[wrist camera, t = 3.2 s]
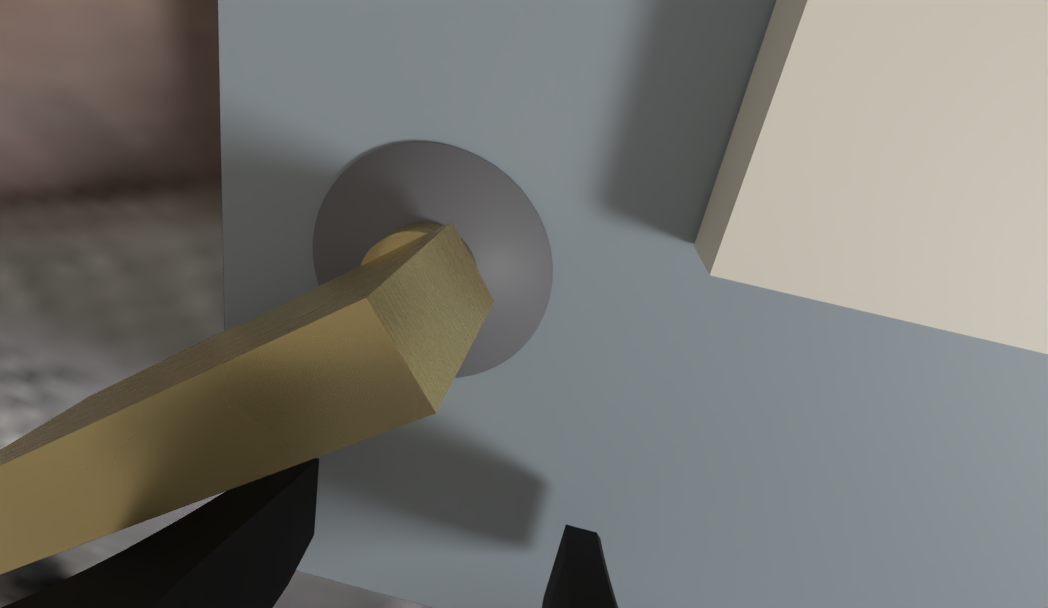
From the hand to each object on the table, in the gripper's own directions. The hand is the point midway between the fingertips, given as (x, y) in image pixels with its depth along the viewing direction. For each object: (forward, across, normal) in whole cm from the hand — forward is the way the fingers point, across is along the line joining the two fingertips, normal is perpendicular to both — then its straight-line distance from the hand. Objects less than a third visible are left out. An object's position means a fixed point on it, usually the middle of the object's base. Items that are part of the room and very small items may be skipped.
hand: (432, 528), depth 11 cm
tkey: (+1, +3, -3) cm, 5 cm away
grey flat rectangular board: (+3, -4, -4) cm, 7 cm away
